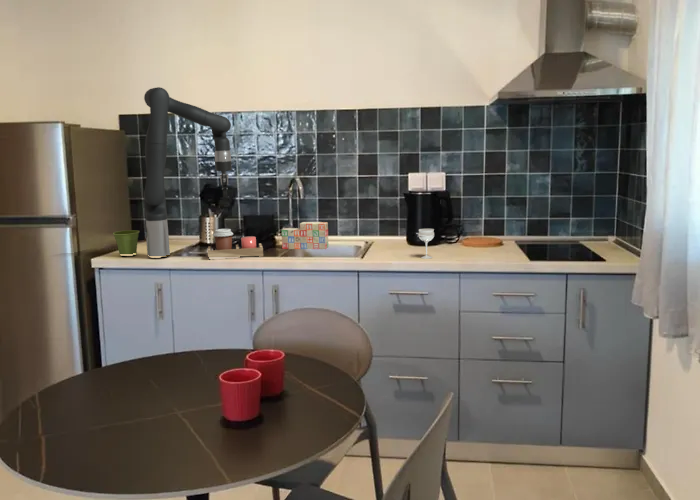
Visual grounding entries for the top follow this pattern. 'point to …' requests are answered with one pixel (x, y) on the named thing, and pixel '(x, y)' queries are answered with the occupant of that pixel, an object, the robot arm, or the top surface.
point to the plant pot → (127, 241)
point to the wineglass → (426, 238)
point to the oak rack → (236, 252)
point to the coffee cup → (223, 239)
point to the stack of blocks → (306, 236)
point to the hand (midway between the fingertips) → (225, 197)
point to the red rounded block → (248, 242)
